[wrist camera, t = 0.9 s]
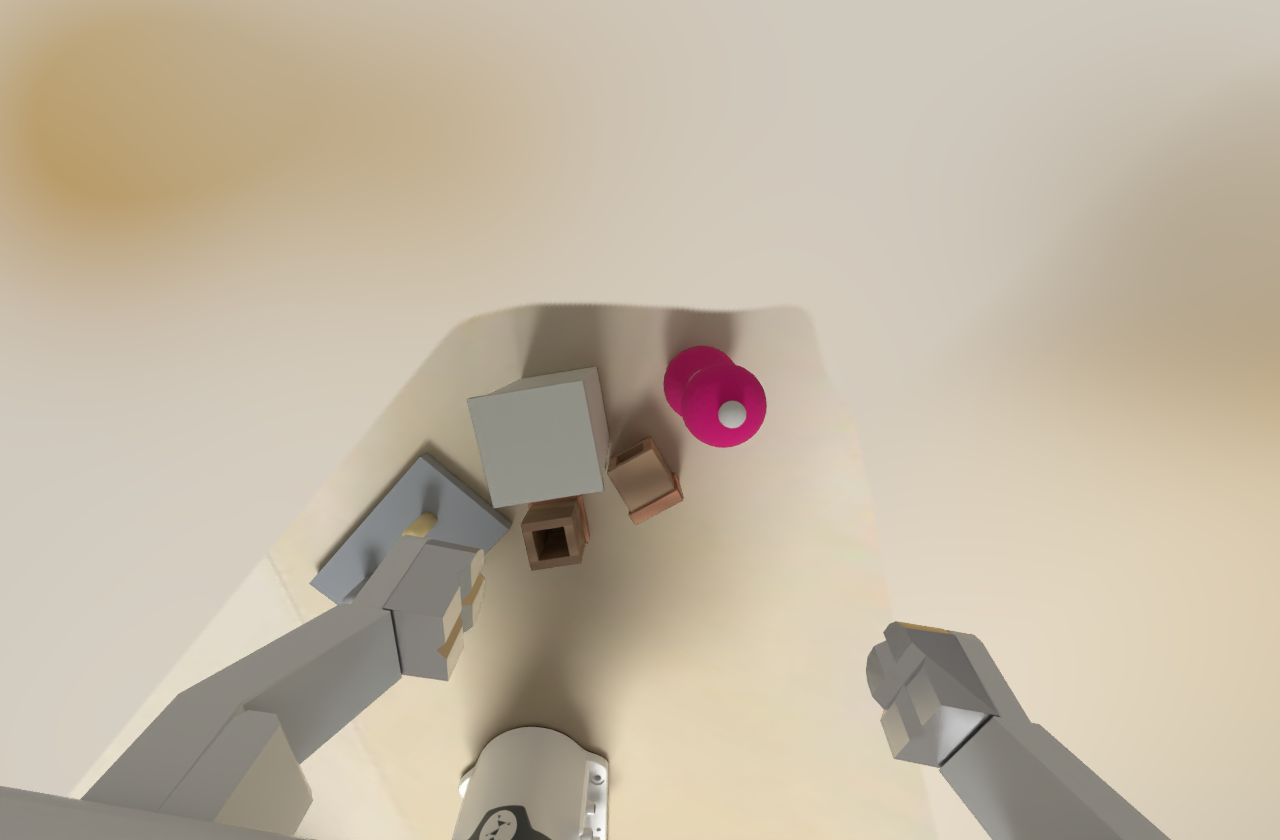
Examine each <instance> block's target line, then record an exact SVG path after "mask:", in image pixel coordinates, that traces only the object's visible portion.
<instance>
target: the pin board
mask: <svg viewBox="0 0 1280 840" xmlns="http://www.w3.org/2000/svg"><path fill="white" fill-rule="evenodd" d="M511 525H512V523H511V522H510V521H509V520H507V519H506V518H505V517H504V516H502V515H501V514H500V513H499V512H498V511H496V510H495V509H494V508H493V507H492V506H490V505H489V504H488V503H487V502H486V501H484V500H483V499H482V498H481V497H480V496H478V495H477V494H476V493H475V492H473V491H472V490H471V489H470V488H469V487H467V486H466V485H465V484H464V483H463V482H461V481H460V480H459V479H458V478H457V477H455V476H454V475H453V474H452V473H451V472H449V471H448V470H447V469H446V468H444V467H443V466H442V465H441V464H440V463H438V462H437V461H436V460H435V459H434V458H432V457H431V456H430V455H429V454H428V453H425V454H424V455H422V456H420V457H419V459H418V460H417V461H416V462H415V463H414V464H413V465H412V467H411V468H410V469H409V470H408V471H407V472H406V473H405V475H404V476H403V477H402V478H401V479H400V480H399V481H398V483H397V484H396V485H395V486H394V487H393V488H392V489H391V491H390V492H389V493H388V494H387V495H386V496H385V497H384V499H383V500H382V501H381V502H380V503H379V504H378V505H377V507H376V508H375V509H374V510H373V511H372V512H371V513H370V515H369V516H368V517H367V518H366V519H365V520H364V521H363V523H362V524H361V525H360V526H359V527H358V528H357V529H356V531H355V532H354V533H353V534H352V535H351V536H350V537H349V539H348V540H347V541H346V542H345V543H344V544H343V545H342V547H341V548H340V549H339V550H338V551H337V552H336V553H335V555H334V556H333V557H332V558H331V559H330V560H329V561H328V563H327V564H326V565H325V566H324V567H323V568H322V569H321V571H320V572H319V573H318V574H317V575H316V576H315V577H314V579H313V580H312V581H311V582H310V583H309V584H310V585H312V586H313V587H314V588H316V589H317V590H318V591H320V592H321V593H322V594H324V595H325V596H326V597H328V598H329V599H330V600H332V601H333V602H334V603H336V604H337V605H339V604H341V603H350V604H351V603H352V602H353V600H354V599H355V598H356V596H357V595H358V593H359V592H360V591H361V589H362V588H363V587H364V585H365V584H366V583H367V581H368V580H369V579H370V577H371V576H372V574H373V573H374V572H375V570H376V569H377V568H378V566H379V565H380V564H381V562H382V561H383V560H384V558H385V557H386V555H387V554H388V553H389V551H390V550H391V549H392V547H393V546H394V545H395V543H396V542H397V541H398V540H399V539H400V538H402V537H403V536H404V535H406V534H407V535H413V536H418V537H423V538H428V539H434V540H439V541H444V542H449V543H454V544H459V545H464V546H469V547H474V548H478V549H482V550H484V555H485V554H486V553H487V552H488V551H489V550H490V549H491V548H492V547H493V546H494V545H495V543H496V542H497V541H498V540H499V539H500V538H501V537H502V536H503V535H504V534H505V533H506V532H507V531H508V530H509V528H510V527H511Z"/></svg>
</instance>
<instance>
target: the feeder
mask: <svg viewBox="0 0 1280 840" xmlns="http://www.w3.org/2000/svg"><path fill="white" fill-rule="evenodd" d="M467 402H468V406H469V410H470V414H471V418H472V422H473V426H474V430H475V435H476V439H477V443H478V447H479V451H480V455H481V459H482V463H483V467H484V471H485V476H486V480H487V484H488V488H489V492H490V496H491V500H492V504H493V508H500V507H506V506H512V505H519V504H525V503H531V502H538V501H544V500H550V499H556V498H563V497H569V496H575V495H582V494H588V493H594V492H601V491H604V483H603V478H602V473H603V470H606V466H605V460H606V456H607V451H608V447H609V443H610V437H609V431H608V426H607V420H606V415H605V409H604V404H603V398H602V393H601V388H600V382H599V377H598V371H597V366H595V367H589V368H583V369H577V370H571V371H565V372H559V373H553V374H546V375H540V376H534V377H528V378H522V379H519V380H517V381H515V382H513V383H511V384H509V385H507V386H505V387H503V388H501V389H499V390H497V391H495V392H493V393H491V394H489V395H485V396H479V397H473V398H469V399H467Z"/></svg>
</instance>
